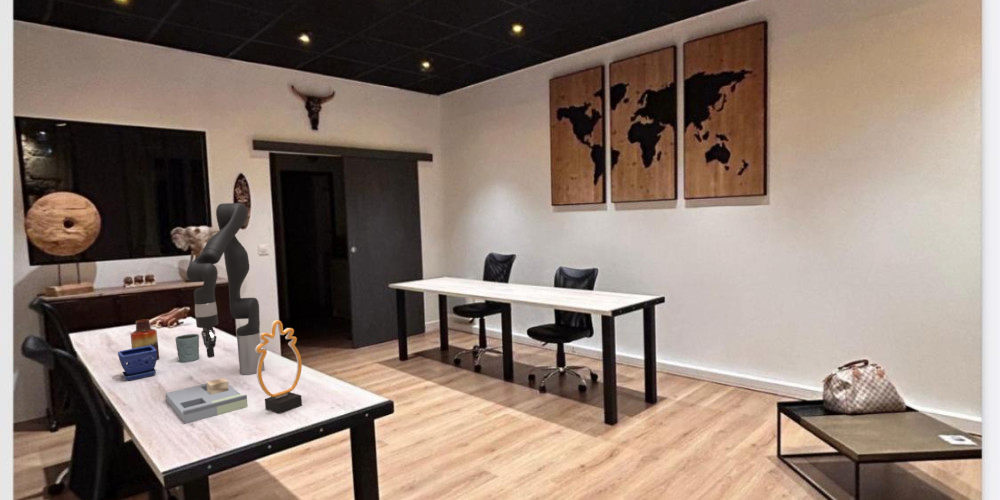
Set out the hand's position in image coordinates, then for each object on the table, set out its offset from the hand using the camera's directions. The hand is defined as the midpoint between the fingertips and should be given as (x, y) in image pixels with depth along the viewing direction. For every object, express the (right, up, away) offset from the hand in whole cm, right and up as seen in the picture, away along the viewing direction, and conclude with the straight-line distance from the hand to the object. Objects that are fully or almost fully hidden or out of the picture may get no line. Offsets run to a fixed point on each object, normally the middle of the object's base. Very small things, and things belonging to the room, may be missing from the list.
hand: (210, 357), depth 205 cm
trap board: (+4, -15, -11) cm, 19 cm away
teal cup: (-39, -12, +51) cm, 65 cm away
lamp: (+36, -15, -18) cm, 43 cm away
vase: (-62, -13, +53) cm, 83 cm away
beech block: (+6, -12, -6) cm, 14 cm away
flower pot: (-47, -15, +28) cm, 57 cm away
